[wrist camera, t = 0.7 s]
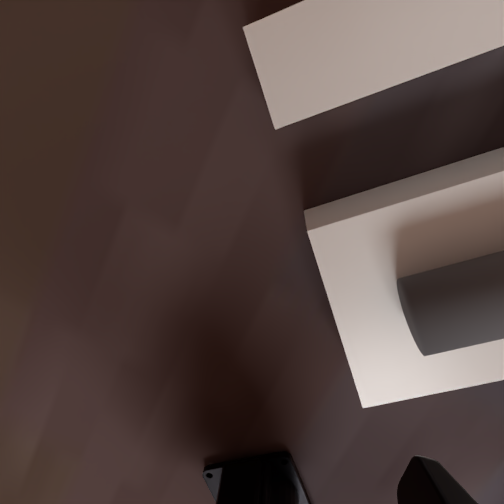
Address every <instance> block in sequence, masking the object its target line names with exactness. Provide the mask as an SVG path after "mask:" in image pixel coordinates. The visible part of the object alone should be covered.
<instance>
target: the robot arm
mask: <svg viewBox="0 0 504 504" xmlns="http://www.w3.org/2000/svg"><path fill="white" fill-rule="evenodd" d="M283 459H285V460H283ZM203 478H204V480H205V482H206V484H207V486H208V488H209V490H210V492H211V493H212V495H213V497H214V499H215V501H216V504H310V501H309V499H308V496H307V494H306V491H305V489H304V487H303V484H302V482H301V479H300V477H299V474H298V472H297V469H296V467H295V464H294V462H293V459H292V457H291V455H290V454H289V453H288V452H278V453H272V454H267V455H262V456H256V457H251V458H246V459H240V460H235V461H230V462H224V463H219V464H213V465H208V466H206V467H205V468H204V471H203ZM397 499H398V504H478V503H477V502H476V501H475V500H474V499H473V498H472V497H471V496H470V495H469V494H468V493H467V492H466V491H465V489H464V488H463V487H462V486H461V485H460V484H459V483H458V482H457V481H456V480H455V479H454V478H453V477H452V476H451V475H450V474H449V473H448V472H447V470H446V469H445V468H444V467H443V466H442V465H441V464H440V463H439V462H438V461H436V460H434V459H431V458H427V457H424V456H420V455H416V456H414V457H413V458H412V459H411V461H410V462H409V464H408V466H407V468H406V470H405V472H404V474H403V476H402V478H401V480H400V482H399V484H398V489H397Z"/></svg>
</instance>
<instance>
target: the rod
mask: <svg viewBox="0 0 504 504" xmlns="http://www.w3.org/2000/svg"><path fill="white" fill-rule="evenodd" d="M397 290H398V295H399V299H400V303H401V307H402V310H403V313H404V316H405V319H406V322H407V324H408V327H409V330H410V332H411V334H412V337H413V339H414V341H415V343H416V345H417V347H418V349H419V350H420V352H421V353H422V355H423V356H428V355H433V354H437V353H442V352H446V351H451V350H455V349H460V348H464V347H469V346H473V345H478V344H482V343H487V342H491V341H496V340H500V339H504V250H503V251H500V252H496V253H492V254H488V255H485V256H481V257H477V258H473V259H470V260H466V261H462V262H458V263H455V264H451V265H447V266H443V267H440V268H436V269H432V270H428V271H425V272H421V273H417V274H413V275H410V276H406V277H402V278H398V279H397Z"/></svg>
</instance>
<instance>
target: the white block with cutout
mask: <svg viewBox="0 0 504 504" xmlns="http://www.w3.org/2000/svg"><path fill="white" fill-rule="evenodd" d="M243 30H244V33H245V36H246V39H247V43H248V46H249V49H250V52H251V55H252V58H253V62H254V65H255V68H256V71H257V74H258V77H259V81H260V84H261V87H262V90H263V93H264V96H265V100H266V103H267V106H268V109H269V112H270V115H271V119H272V122H273V125H274V128H275V130H276V129H279V128H281V127H284V126H287V125H289V124H292V123H295V122H297V121H300V120H303V119H306V118H308V117H311V116H314V115H316V114H319V113H322V112H325V111H327V110H330V109H333V108H335V107H338V106H341V105H344V104H346V103H349V102H352V101H354V100H357V99H360V98H363V97H365V96H368V95H371V94H373V93H376V92H379V91H382V90H384V89H387V88H390V87H392V86H395V85H398V84H401V83H403V82H406V81H409V80H411V79H414V78H417V77H420V76H422V75H425V74H428V73H430V72H433V71H436V70H439V69H441V68H444V67H447V66H449V65H452V64H455V63H458V62H460V61H463V60H466V59H468V58H471V57H474V56H477V55H479V54H482V53H485V52H487V51H490V50H493V49H496V48H498V47H501V46H504V0H304V1H302V2H300V3H297V4H295V5H293V6H290V7H288V8H286V9H283V10H281V11H279V12H277V13H274V14H272V15H270V16H267V17H265V18H263V19H260V20H258V21H256V22H253V23H251V24H249V25H247V26H244V27H243ZM304 216H305V222H306V228H307V233H308V236H309V239H310V242H311V245H312V248H313V252H314V255H315V258H316V261H317V264H318V267H319V271H320V274H321V277H322V280H323V283H324V286H325V290H326V293H327V296H328V299H329V302H330V305H331V308H332V312H333V315H334V318H335V321H336V324H337V327H338V331H339V334H340V337H341V340H342V343H343V346H344V350H345V353H346V356H347V359H348V362H349V365H350V369H351V372H352V375H353V378H354V381H355V384H356V388H357V391H358V394H359V397H360V400H361V403H362V407H363V408H367V407H372V406H377V405H381V404H386V403H391V402H396V401H401V400H406V399H411V398H416V397H421V396H426V395H431V394H436V393H441V392H446V391H451V390H456V389H461V388H466V387H470V386H475V385H480V384H485V383H490V382H495V381H500V380H504V339H500V340H496V341H491V342H487V343H482V344H478V345H473V346H469V347H464V348H460V349H455V350H451V351H446V352H442V353H437V354H433V355H428V356H423V355H422V353H421V352H420V350H419V349H418V347H417V345H416V343H415V341H414V339H413V337H412V334H411V332H410V330H409V327H408V324H407V322H406V319H405V316H404V313H403V310H402V307H401V303H400V299H399V295H398V290H397V279H398V278H402V277H406V276H410V275H413V274H417V273H421V272H425V271H428V270H432V269H436V268H440V267H443V266H447V265H451V264H455V263H458V262H462V261H466V260H470V259H473V258H477V257H481V256H485V255H488V254H492V253H496V252H500V251H503V250H504V147H502V148H499V149H496V150H493V151H489V152H486V153H483V154H480V155H477V156H474V157H471V158H467V159H464V160H461V161H458V162H455V163H452V164H449V165H445V166H442V167H439V168H436V169H433V170H430V171H427V172H423V173H420V174H417V175H414V176H411V177H408V178H405V179H401V180H398V181H395V182H392V183H389V184H386V185H383V186H379V187H376V188H373V189H370V190H367V191H364V192H361V193H357V194H354V195H351V196H348V197H345V198H342V199H339V200H335V201H332V202H329V203H326V204H323V205H320V206H317V207H313V208H310V209H307V210H304Z"/></svg>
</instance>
